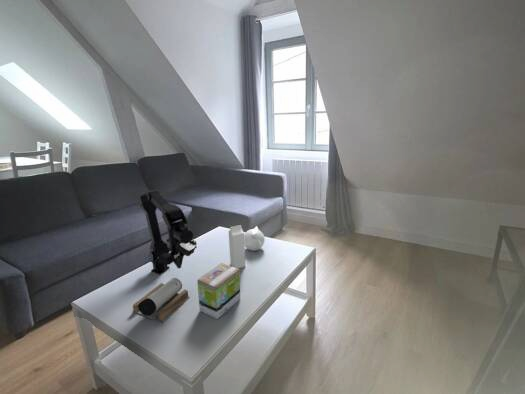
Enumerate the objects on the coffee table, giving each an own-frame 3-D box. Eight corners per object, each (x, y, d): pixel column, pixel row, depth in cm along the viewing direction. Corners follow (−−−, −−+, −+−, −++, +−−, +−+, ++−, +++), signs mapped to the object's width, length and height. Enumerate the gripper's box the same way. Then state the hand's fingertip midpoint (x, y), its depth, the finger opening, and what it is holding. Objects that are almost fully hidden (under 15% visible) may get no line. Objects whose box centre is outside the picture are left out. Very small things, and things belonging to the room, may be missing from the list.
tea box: (218, 320, 108) (215, 287, 104) (199, 311, 113) (195, 279, 109) (241, 298, 120) (239, 268, 116) (223, 291, 126) (221, 261, 121)
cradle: (132, 311, 114) (131, 304, 113) (160, 289, 128) (159, 282, 127) (163, 322, 108) (162, 314, 107) (189, 297, 122) (188, 290, 121)
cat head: (244, 243, 171) (244, 224, 167) (266, 243, 169) (265, 225, 165) (239, 255, 157) (238, 234, 153) (262, 256, 155) (262, 235, 151)
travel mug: (181, 277, 123) (148, 303, 105) (183, 291, 124) (151, 319, 106) (169, 276, 125) (135, 301, 107) (171, 289, 127) (138, 316, 108)
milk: (230, 264, 148) (227, 225, 141) (241, 261, 150) (239, 222, 144) (234, 269, 142) (232, 229, 136) (245, 266, 145) (243, 226, 138)
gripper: (176, 248, 110) (180, 283, 115) (203, 230, 126) (206, 261, 131) (154, 244, 114) (159, 277, 119) (183, 227, 131) (186, 257, 135)
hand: (179, 268), depth 126 cm, fingers closed
